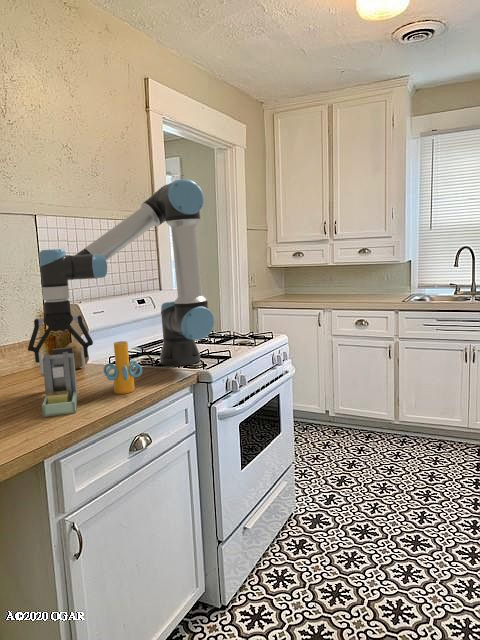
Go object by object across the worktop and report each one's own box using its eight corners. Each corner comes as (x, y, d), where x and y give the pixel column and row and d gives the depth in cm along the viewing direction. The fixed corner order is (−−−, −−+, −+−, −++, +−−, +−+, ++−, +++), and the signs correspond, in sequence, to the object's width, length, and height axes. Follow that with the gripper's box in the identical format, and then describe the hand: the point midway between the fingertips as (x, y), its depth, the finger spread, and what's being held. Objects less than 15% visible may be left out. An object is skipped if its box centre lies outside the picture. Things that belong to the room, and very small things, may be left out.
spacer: (69, 404, 136) (68, 390, 135) (68, 408, 132) (66, 394, 131) (50, 406, 135) (49, 392, 134) (48, 410, 131) (47, 396, 130)
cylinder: (103, 389, 152) (99, 341, 150) (137, 384, 156) (133, 337, 154) (109, 399, 141) (105, 347, 139) (146, 393, 145) (142, 343, 143)
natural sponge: (59, 369, 184) (56, 342, 183) (82, 364, 190) (79, 339, 189) (69, 372, 178) (66, 345, 176) (92, 367, 183) (90, 341, 182)
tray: (77, 401, 140) (76, 391, 139) (75, 412, 129) (74, 401, 129) (47, 405, 137) (45, 395, 137) (43, 417, 127) (41, 405, 127)
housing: (77, 396, 145) (73, 346, 143) (76, 404, 137) (71, 351, 135) (48, 399, 143) (43, 349, 141) (45, 408, 134) (40, 354, 132)
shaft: (74, 365, 157) (72, 347, 157) (70, 381, 136) (68, 360, 136) (54, 367, 156) (52, 349, 155) (47, 384, 135) (45, 362, 134)
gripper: (97, 296, 157) (103, 363, 160) (16, 302, 150) (23, 372, 153) (97, 298, 150) (103, 368, 152) (12, 304, 143) (20, 377, 146)
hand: (63, 370), depth 153 cm, fingers open, 11 cm apart
